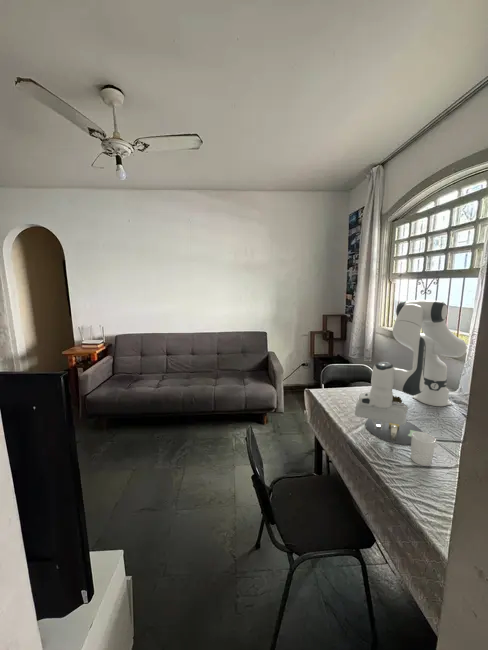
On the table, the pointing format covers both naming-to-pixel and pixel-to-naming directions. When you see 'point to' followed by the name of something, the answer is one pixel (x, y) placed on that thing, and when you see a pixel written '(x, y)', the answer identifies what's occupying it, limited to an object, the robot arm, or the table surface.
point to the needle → (393, 430)
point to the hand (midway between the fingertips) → (378, 429)
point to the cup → (396, 399)
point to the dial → (402, 434)
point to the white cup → (422, 448)
